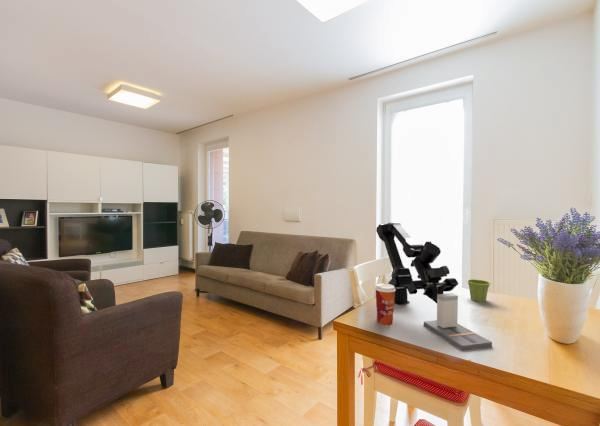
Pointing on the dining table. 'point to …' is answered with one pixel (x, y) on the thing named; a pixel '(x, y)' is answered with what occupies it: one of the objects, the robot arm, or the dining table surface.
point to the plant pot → (478, 289)
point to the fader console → (459, 336)
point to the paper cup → (385, 303)
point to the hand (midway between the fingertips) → (443, 306)
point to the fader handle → (447, 310)
